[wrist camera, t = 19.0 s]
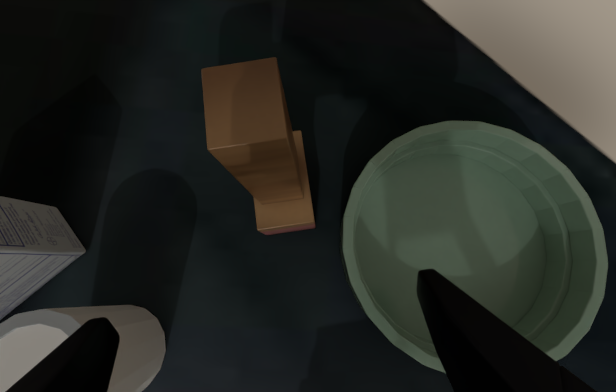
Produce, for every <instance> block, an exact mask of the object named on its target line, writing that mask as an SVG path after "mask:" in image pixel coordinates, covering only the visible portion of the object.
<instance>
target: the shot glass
mask: <svg viewBox="0 0 616 392" xmlns="http://www.w3.org/2000/svg"><path fill="white" fill-rule="evenodd" d="M100 317H105V318H107V319H108V320H109V321H110V322H111V324H112V325H113V326H114V328H115V329H116V330H117V332H118V333H119V336H120V342H119V346H118V350H117V355H116V359H115V363H114V367H113V371H112V375H111V379H110V383H109V387H108V391H107V392H141V391H143V390H144V389H145V388H146V387H147V386H148V385H149V384H150V383H151V381H152V380H153V379H154V377H155V376H156V374H157V373H158V372H159V370H160V369H161V366H162V362H163V359H164V355H165V352H166V346H165V333H164V331H163V329H162V327H161V325H160V323H159V321H158V319H157V318H156V317H155V316H154V315H153V314H151V313H150V312H149V311H148V310H147V309H145V308H142V307H138V306H134V305H113V306H93V307H73V308H52V309H41V310H36V311H30V312H25V313H19V314H15V315H14V316H12V317H11V318H9V319H7V320H6V321H4V322H2V323H1V324H0V392H5V391H7V390H8V389H9V388H10V387H11V386H12V385H14V384H15V383H16V382H17V381H18V380H19V379H21V378H22V377H23V376H24V375H25V374H26V373H28V372H29V371H30V370H31V369H32V368H33V367H34V366H36V365H37V364H38V363H39V362H40V361H41V360H43V359H44V358H45V357H46V356H47V355H48V354H50V353H51V352H52V351H53V350H54V349H55V348H56V347H58V346H59V345H60V344H61V343H62V342H63V341H65V340H66V339H67V338H68V337H69V336H70V335H72V334H73V333H74V332H75V331H76V330H77V329H78V328H80V327H81V326H82V325H83V324H84V323H85V322H87V321H88V320H90V319H93V318H100Z"/></svg>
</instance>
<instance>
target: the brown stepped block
mask: <svg viewBox="0 0 616 392" xmlns="http://www.w3.org/2000/svg"><path fill="white" fill-rule="evenodd" d="M201 73H202V86H203V99H204V112H205V124H206V137H207V149H208V151H209V152H210V153H211V154H212V155H213V156H214V157H215V158H216V159H217V160H218V161H219V162H220V163H221V164H222V165H223V166H224V167H225V168H226V169H227V170H228V171H229V172H230V173H231V174H232V175H233V176H234V177H235V178H236V179H237V180H238V181H239V182H240V183H241V184H242V185H243V186H244V187H245V188H246V189H247V190H248V191H249V192H250V193H251V194H252V195H253V196H254V205H255V214H256V223H257V230H258V231H260V232H262V233H263V234H265V235H272V234H279V233H286V232H292V231H299V230H306V229H312V228H315V220H314V213H313V207H312V200H311V193H310V187H309V180H308V174H307V167H306V160H305V154H304V147H303V141H302V134H301V131H294V132H292V127H291V123H290V118H289V114H288V109H287V104H286V100H285V95H284V91H283V86H282V82H281V77H280V72H279V68H278V63H277V59H276V57H273V58H267V59H260V60H254V61H248V62H241V63H235V64H228V65H222V66H215V67H209V68H203V69H201Z"/></svg>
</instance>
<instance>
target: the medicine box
mask: <svg viewBox="0 0 616 392" xmlns="http://www.w3.org/2000/svg"><path fill="white" fill-rule="evenodd" d="M85 252H86V250H85V248H84V247H83V245H82V244H81V242H80V241H79V239H78V238H77V237H76V235H75V234H74V232H73V231H72V229H71V228H70V226H69V225H68V223H67V222H66V220H65V219H64V217H63V216H62V215H61V213H60V212H59V210H58V209H57V208H56V207H53V206H48V205H43V204H37V203H32V202H28V201H22V200H17V199H12V198H7V197H2V196H0V319H2V318H3V317H4V316H5V315H7V314H8V313H9V312H10V311H12V310H13V309H14V308H15V307H17V306H18V305H19V304H20V303H22V302H23V301H24V300H25V299H27V298H28V297H29V296H30V295H32V294H33V293H34V292H35V291H37V290H38V289H39V288H41V287H42V286H43V285H44V284H45V283H47V282H48V281H49V280H50V279H52V278H53V277H54V276H55V275H57V274H58V273H59V272H61V271H62V270H63V269H64V268H66V267H67V266H68V265H69V264H70V263H72V262H73V261H74V260H75V259H77V258H78V257H79V256H81V255H82V254H84V253H85Z"/></svg>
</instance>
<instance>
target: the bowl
mask: <svg viewBox="0 0 616 392" xmlns="http://www.w3.org/2000/svg"><path fill="white" fill-rule="evenodd" d="M339 251H340V252H339V253H340V257H341V262H342V266H343V270H344V275H345V279H346V282H347V284H348V286H349V287H350V289H351V291H352V293H353V295H354V297H355V299H356V301H357V303H358V305H359V307H360V308H361V309H362V310H363V312H364V313H365V314H366V315H367V316H368V317H369V318H370V319H371V321H372V322H373V323H374V324H375V325H376V326H377V327H378V329H379V330H380V331H381V332H382V333H383V334H384V335H385V336H386V337H387V339H388V340H389V341H390V342H391V343H392V344H393V345H395V346H396V347H398V348H399V349H401V350H402V351H403V352H405V353H406V354H408V355H409V356H411V357H412V358H414V359H415V360H417V361H418V362H420V363H421V364H423V365H425V366H427V367H430V368H432V369H435V370H438V371H441V372H444V373H446V372H445V370H444V368H443V366H442V364H441V361H440V359H439V357H438V355H437V352H436V350H435V347H434V344H433V342H432V339H431V336H430V333H429V330H428V327H427V324H426V321H425V318H424V315H423V312H422V309H421V306H420V303H419V300H418V297H417V291H416V288H417V275H418V272H419V270H424V269H435V270H436V271H437V272H439V273H440V274H441V275H443V276H444V277H445V278H447V279H448V280H449V281H451V282H452V283H453V284H455V285H456V286H457V287H459V288H460V289H461V290H463V291H464V292H465V293H466V294H468V295H469V296H470V297H472V298H473V299H474V300H476V301H477V302H478V303H480V304H481V305H482V306H484V307H485V308H486V309H488V310H489V311H490V312H492V313H493V314H494V315H496V316H497V317H498V318H499V319H501V320H502V321H503V322H505V323H506V324H507V325H509V326H510V327H511V328H513V329H514V330H515V331H517V332H518V333H519V334H521V335H522V336H523V337H525V338H526V339H527V340H529V341H530V342H531V343H533V344H534V345H535V346H536V347H538V348H539V349H540V350H542V351H543V352H544V353H546V354H547V355H548V356H550V357H551V358H552V359H554V360H555V361H557V360H559V359H561V358H563V357H564V356H565V355H567V354H568V353H569V352H570V351H571V350H572V349H573V347H574V346H575V345H576V344H577V343H578V342H579V341H580V340H581V339H582V337H583V336H584V335H585V334H586V333H587V332H588V331H589V329H590V327H591V325H592V323H593V320H594V318H595V316H596V314H597V312H598V309H599V307H600V305H601V303H602V300H603V297H604V293H605V285H606V277H607V269H608V258H607V252H606V245H605V238H604V232H603V229H602V225H601V223H600V221H599V218H598V216H597V214H596V211H595V209H594V207H593V204H592V202H591V199H590V197H588V194H587V193H586V191H585V190H584V189H583V187H582V186H581V185H580V183H579V182H578V181H577V179H576V178H575V177H574V175H573V174H572V173H571V171H570V170H569V169H567V167H566V166H565V165H564V164H563V163H562V162H560V161H559V160H558V159H557V158H556V157H555V156H553V155H552V154H551V153H550V152H549V151H548V150H546V149H545V148H544V147H543V146H541V145H540V144H538V143H536V142H534V141H532V140H530V139H528V138H526V137H524V136H522V135H521V134H519V133H517V132H515V131H512V130H510V129H507V128H503V127H499V126H495V125H492V124H488V123H484V122H480V121H445V122H440V123H435V124H431V125H426V126H421V127H419V128H416V129H414V130H412V131H410V132H408V133H406V134H404V135H402V136H400V137H398V138H396V139H394V140H392V141H391V142H389V143H388V144H387V145H386V146H385V147H384V148H383V149H382V150H380V151H379V152H378V153H377V154H376V155H375V156H374V157H373V158H372V159H370V161H369V162H368V163H367V165H366V166H365V168H364V169H363V171H362V172H361V174H360V176H359V177H358V179H357V180H356V182H355V183H354V185H353V187H352V189H351V192H350V195H349V197H348V200H347V203H346V206H345V210H344V213H343V216H342V219H341V223H340V244H339Z"/></svg>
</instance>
